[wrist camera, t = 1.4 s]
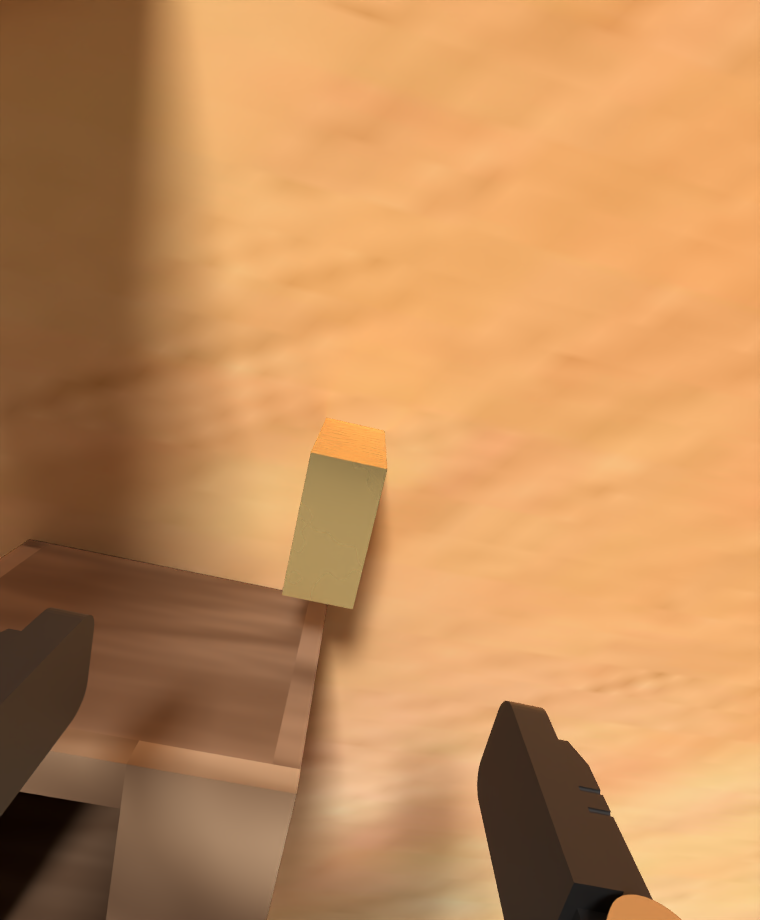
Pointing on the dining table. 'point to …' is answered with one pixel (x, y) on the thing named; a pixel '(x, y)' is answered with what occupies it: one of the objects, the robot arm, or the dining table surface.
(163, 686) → the walnut tissue box
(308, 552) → the yellow wooden block
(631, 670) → the dining table surface
